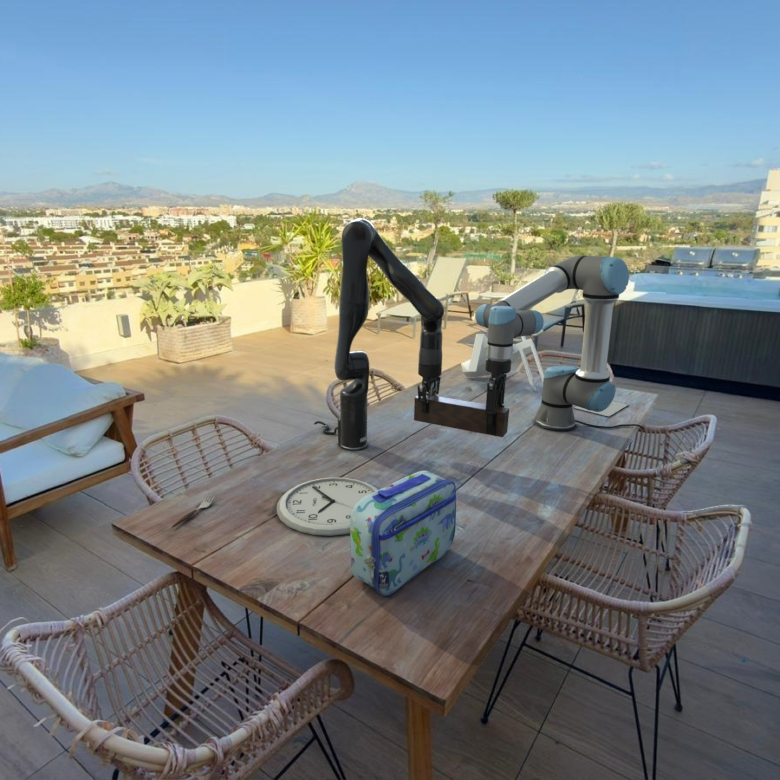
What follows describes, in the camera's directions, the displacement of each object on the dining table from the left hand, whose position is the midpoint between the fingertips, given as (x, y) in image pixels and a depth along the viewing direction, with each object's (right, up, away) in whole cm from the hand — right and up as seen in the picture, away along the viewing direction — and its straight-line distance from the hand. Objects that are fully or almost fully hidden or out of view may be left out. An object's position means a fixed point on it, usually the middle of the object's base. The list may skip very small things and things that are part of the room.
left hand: (428, 410), depth 172 cm
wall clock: (-28, -25, -30) cm, 48 cm away
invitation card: (+79, -1, +54) cm, 96 cm away
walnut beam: (+10, -5, -4) cm, 12 cm away
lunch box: (-9, -33, -56) cm, 65 cm away
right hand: (+20, -6, -9) cm, 22 cm away
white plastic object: (+41, +9, +84) cm, 94 cm away
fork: (-64, -26, -35) cm, 78 cm away
